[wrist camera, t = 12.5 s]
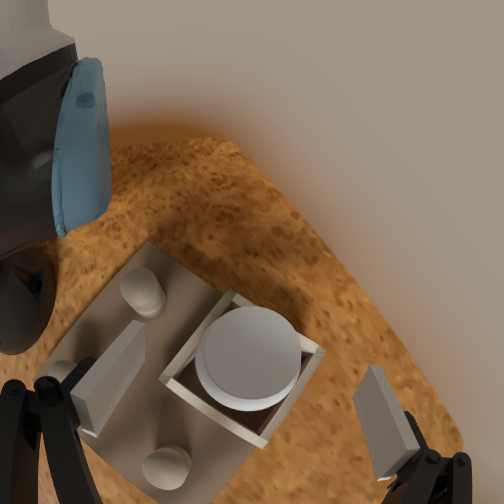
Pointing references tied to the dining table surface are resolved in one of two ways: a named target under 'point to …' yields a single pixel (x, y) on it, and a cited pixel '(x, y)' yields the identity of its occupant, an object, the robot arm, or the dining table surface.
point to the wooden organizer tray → (170, 383)
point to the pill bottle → (249, 358)
